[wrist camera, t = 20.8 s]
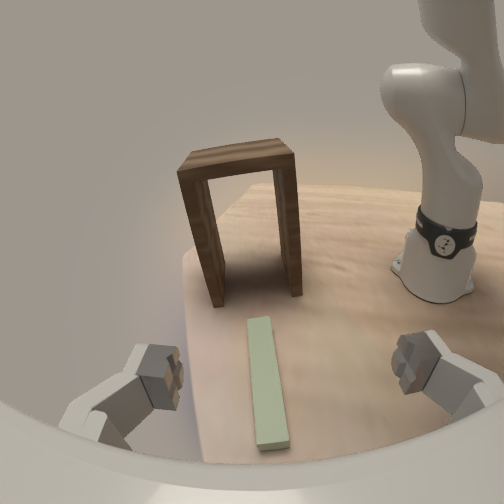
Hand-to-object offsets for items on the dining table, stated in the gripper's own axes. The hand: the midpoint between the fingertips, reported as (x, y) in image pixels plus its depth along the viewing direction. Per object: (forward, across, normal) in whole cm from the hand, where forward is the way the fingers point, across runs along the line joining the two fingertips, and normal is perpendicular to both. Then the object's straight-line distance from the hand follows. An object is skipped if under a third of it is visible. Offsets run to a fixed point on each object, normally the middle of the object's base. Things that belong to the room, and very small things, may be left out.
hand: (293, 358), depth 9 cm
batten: (+18, 0, +23) cm, 29 cm away
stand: (+41, +1, +18) cm, 45 cm away
